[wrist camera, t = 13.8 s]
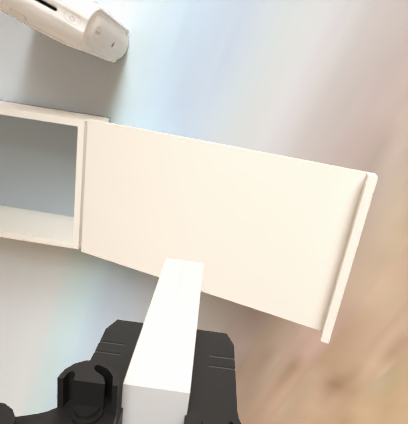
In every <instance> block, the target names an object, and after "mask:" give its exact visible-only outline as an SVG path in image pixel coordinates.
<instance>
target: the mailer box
mask: <svg viewBox="0 0 408 424" xmlns="http://www.w3.org/2000/svg"><path fill="white" fill-rule="evenodd" d="M88 119H93V120H99V121H104V122H109V123H110V118H108V117H102V116H96V115H89V114H83V113H77V112H70V111H64V110H57V109H51V108H45V107H38V106H32V105H25V104H19V103H13V102H6V101H0V237H3V238H10V239H16V240H22V241H29V242H35V243H41V244H48V245H54V246H60V247H67V248H73V249H79V248H80V247H81V243H82V224H83V205H84V185H85V166H86V146H87V127H88Z"/></svg>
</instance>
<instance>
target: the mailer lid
mask: <svg viewBox="0 0 408 424" xmlns="http://www.w3.org/2000/svg"><path fill="white" fill-rule="evenodd" d="M377 179H378V177H377V175H376V174H375V173H369V172H364V171H359V170H354V169H349V168H343V167H338V166H333V165H328V164H323V163H317V162H312V161H307V160H302V159H297V158H291V157H286V156H281V155H276V154H271V153H265V152H260V151H255V150H250V149H244V148H239V147H234V146H229V145H224V144H218V143H213V142H208V141H203V140H198V139H192V138H187V137H182V136H177V135H172V134H166V133H161V132H156V131H151V130H146V129H140V128H135V127H130V126H125V125H119V124H114V123H109V122H104V121H99V120H93V119H88V127H87V146H86V166H85V185H84V205H83V224H82V243H81V252H84V253H87V254H90V255H93V256H96V257H99V258H102V259H105V260H108V261H111V262H114V263H117V264H120V265H123V266H126V267H129V268H132V269H135V270H138V271H141V272H144V273H148V274H151V275H154V276H157V277H160V275H161V272H162V269H163V266H164V263H165V260H166V258H171V259H178V260H185V261H193V262H200V263H204V264H203V273H202V283H201V291H202V292H205V293H208V294H211V295H214V296H217V297H220V298H223V299H226V300H229V301H232V302H235V303H238V304H241V305H244V306H247V307H250V308H253V309H256V310H259V311H263V312H266V313H269V314H272V315H275V316H278V317H281V318H284V319H287V320H290V321H293V322H296V323H299V324H302V325H305V326H308V327H311V328H314V329H317V330H320V331H322V332H321V341H322V342H325V343H329V340H330V337H331V333H332V330H333V327H334V323H335V320H336V316H337V313H338V310H339V306H340V303H341V300H342V296H343V293H344V290H345V286H346V283H347V280H348V276H349V273H350V270H351V266H352V263H353V259H354V256H355V253H356V249H357V246H358V243H359V239H360V236H361V233H362V229H363V226H364V223H365V219H366V216H367V213H368V209H369V206H370V203H371V199H372V196H373V192H374V189H375V186H376V182H377Z"/></svg>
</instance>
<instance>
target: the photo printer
mask: <svg viewBox="0 0 408 424" xmlns="http://www.w3.org/2000/svg"><path fill="white" fill-rule="evenodd" d="M0 10H2V11H3V12H5V13H7V14H8V15H10V16H12V17H14V18H15V19H17V20H19V21H20V22H22V23H24V24H26V25H28V26H29V27H31V28H33V29H35V30H37V31H39V32H41V33H43V34H44V35H46V36H48V37H50V38H52V39H54V40H56V41H58V42H61V43H63V44H64V45H68V46H70V47H72V48H75V49H77V50H80V51H83V52H85V53H88V54H91V55H93V56H96V57H98V58H101V59H103V60H106V61H109V62H113V63H115V62H116V61H117V59H120V58H121V57H122V56H123V55H124V54H125V53H126V51H127V49H128V44H129V40H128V36H127V34H128V30H127V29H126V28H125V27H124V26H123V25H122V24H121V23H119V22H118V21H117V20H116V19H115V18H113V17H112V16H111V15H110V14H109V13H107V12H106V11H105V10H104V9H102V8H101V7H100V6H98V5H97V4H96V3H95V2H93V1H92V0H0Z"/></svg>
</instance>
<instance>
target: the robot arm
mask: <svg viewBox="0 0 408 424" xmlns="http://www.w3.org/2000/svg"><path fill="white" fill-rule="evenodd" d="M203 264H204V263H200V262H193V261H185V260H178V259H171V258H166V260H165V263H164V266H163V269H162V272H161V275H160V277H159V280H158V283H157V286H156V289H155V292H154V295H153V298H152V301H151V304H150V307H149V310H148V313H147V315H146V318H145V321H144V323H138V322H130V321H123V320H117V321H115V322H114V323H113V324H112V325H110V326H109V327H108V328H107V329H106V330H105V332H104V334H103V336H102V338H101V340H100V343H99V344H98V346H97V348H96V350H95V353H94V354H93V356H92V358H91V360H90V361H83V362H79V363H76V364H73V365H72V366H70V367H68V368H67V369H65V370H64V371H63V372H62V373H61V374H60V376H59V377H58V395H57V408H55V409H52V410H50V411H48V412H43V413H39V414H33V415H26V416H19V417H15V415H14V413H13V410H12V409H11V408H10V407H9V406H7V405H6V404H4V403H0V424H241V422H240V420H239V418H238V413H237V399H236V380H235V361H234V345H233V343H232V342H231V340H230V338H229V337H228V335H227V334H225V333H218V332H211V331H203V330H197V321H198V312H199V302H200V292H201V283H202V273H203Z"/></svg>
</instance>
